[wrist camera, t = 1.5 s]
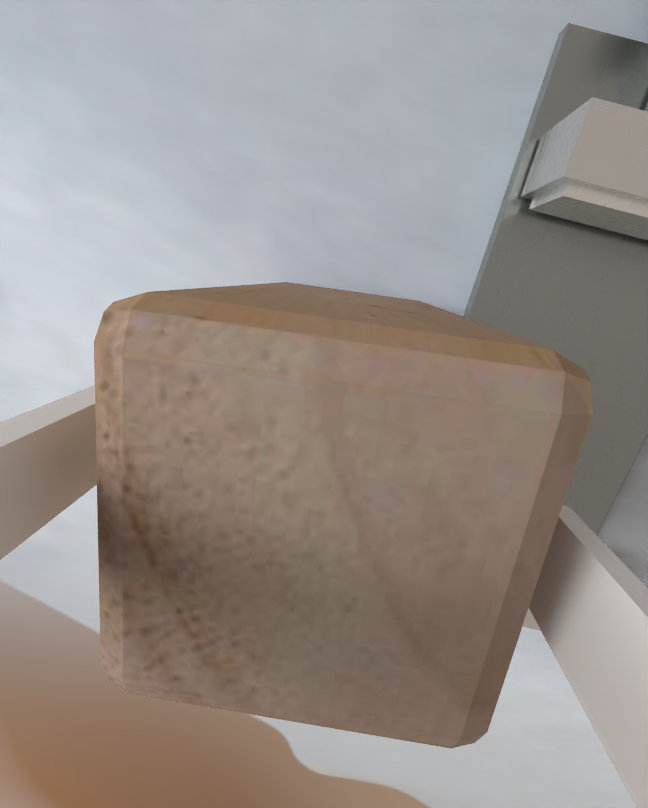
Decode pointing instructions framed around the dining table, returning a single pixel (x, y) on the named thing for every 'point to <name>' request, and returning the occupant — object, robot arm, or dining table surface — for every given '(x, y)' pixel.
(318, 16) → the dining table surface
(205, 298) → the wooden block
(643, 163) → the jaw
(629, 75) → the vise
